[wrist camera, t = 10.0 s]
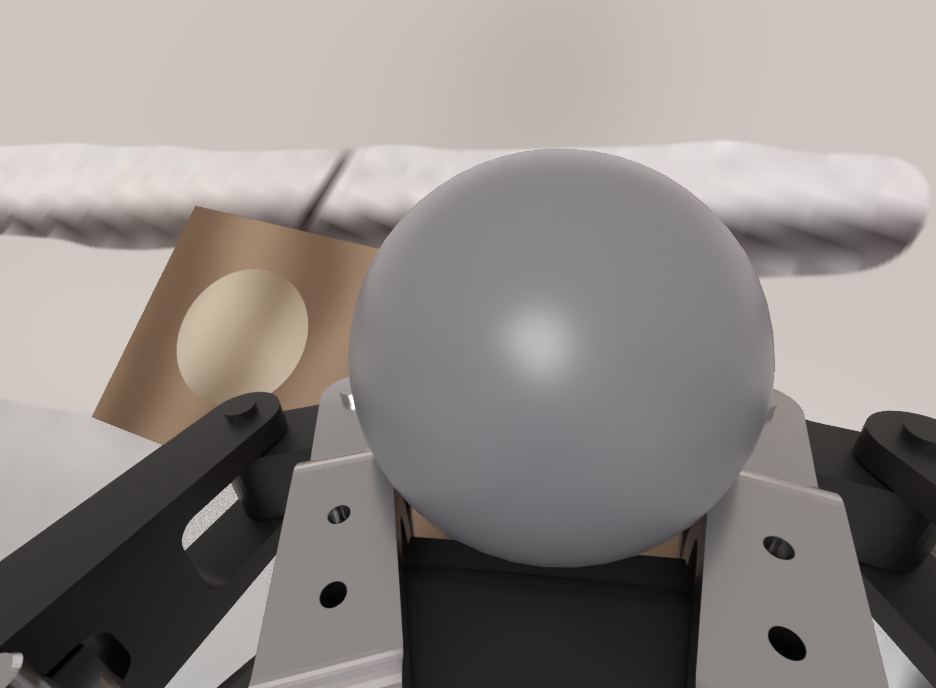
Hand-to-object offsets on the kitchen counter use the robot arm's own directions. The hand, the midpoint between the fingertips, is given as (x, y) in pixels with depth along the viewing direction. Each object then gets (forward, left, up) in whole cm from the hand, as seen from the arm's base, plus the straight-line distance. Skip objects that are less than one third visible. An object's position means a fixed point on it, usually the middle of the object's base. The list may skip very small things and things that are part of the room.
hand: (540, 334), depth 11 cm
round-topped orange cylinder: (0, -2, -7) cm, 7 cm away
